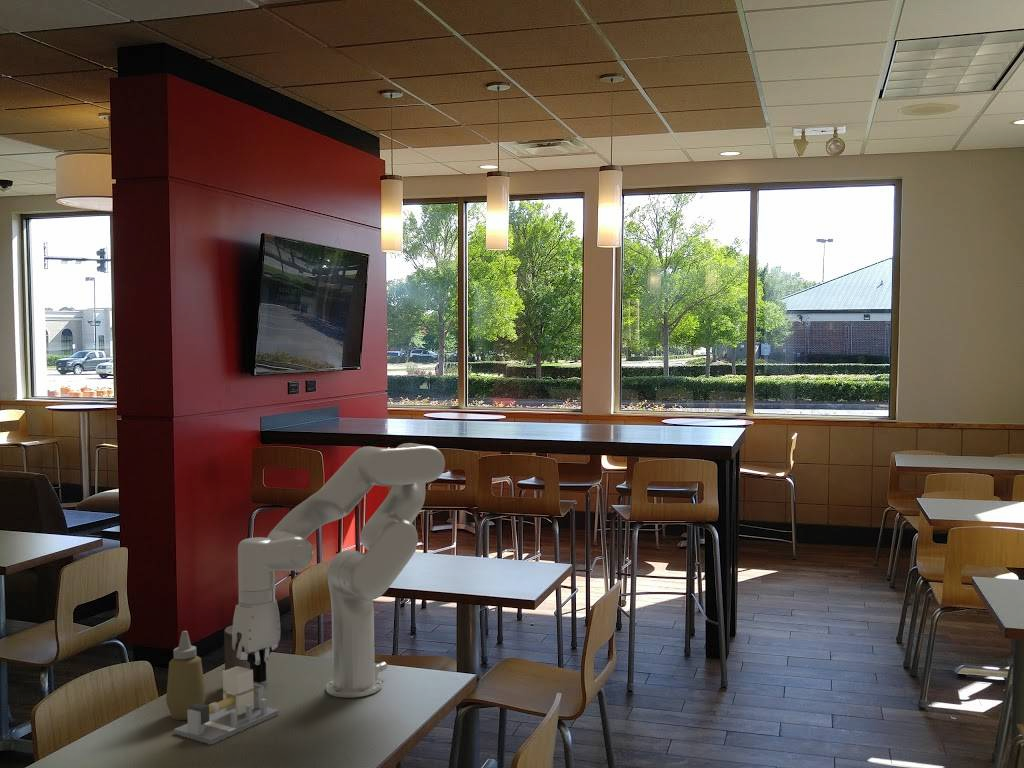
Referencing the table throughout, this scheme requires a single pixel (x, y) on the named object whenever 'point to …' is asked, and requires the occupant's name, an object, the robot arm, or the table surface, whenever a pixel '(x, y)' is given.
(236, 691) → the white block
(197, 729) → the gray assembly board
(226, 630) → the pillar candle
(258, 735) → the table surface
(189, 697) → the squeeze bottle
